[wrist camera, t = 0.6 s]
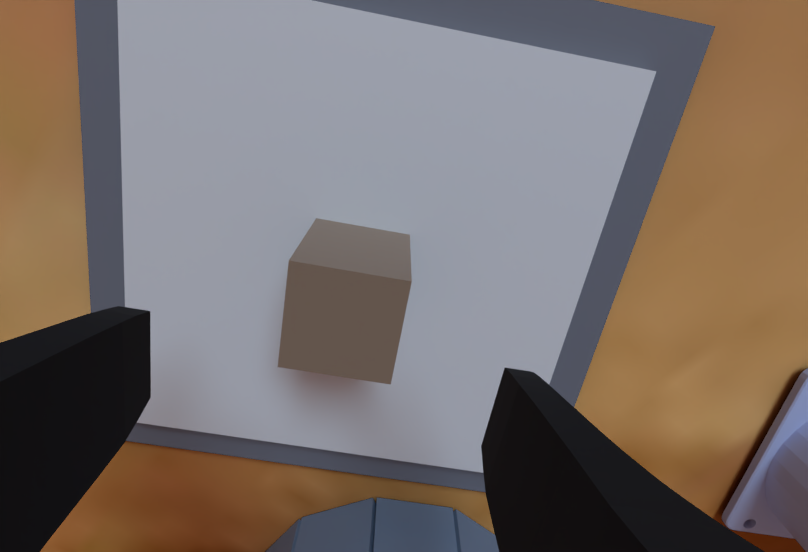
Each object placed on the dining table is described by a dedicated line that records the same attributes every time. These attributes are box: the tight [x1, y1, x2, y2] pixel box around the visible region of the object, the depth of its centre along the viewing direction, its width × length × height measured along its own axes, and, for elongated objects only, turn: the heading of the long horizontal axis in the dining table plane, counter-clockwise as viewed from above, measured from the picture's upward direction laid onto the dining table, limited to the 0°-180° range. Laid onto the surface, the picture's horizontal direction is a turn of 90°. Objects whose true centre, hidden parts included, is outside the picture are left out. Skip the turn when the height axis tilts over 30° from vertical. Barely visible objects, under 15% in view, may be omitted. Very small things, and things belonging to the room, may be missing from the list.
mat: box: [75, 0, 715, 492], centre depth 17 cm, size 18×18×1 cm
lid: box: [117, 0, 656, 473], centre depth 15 cm, size 15×15×5 cm
